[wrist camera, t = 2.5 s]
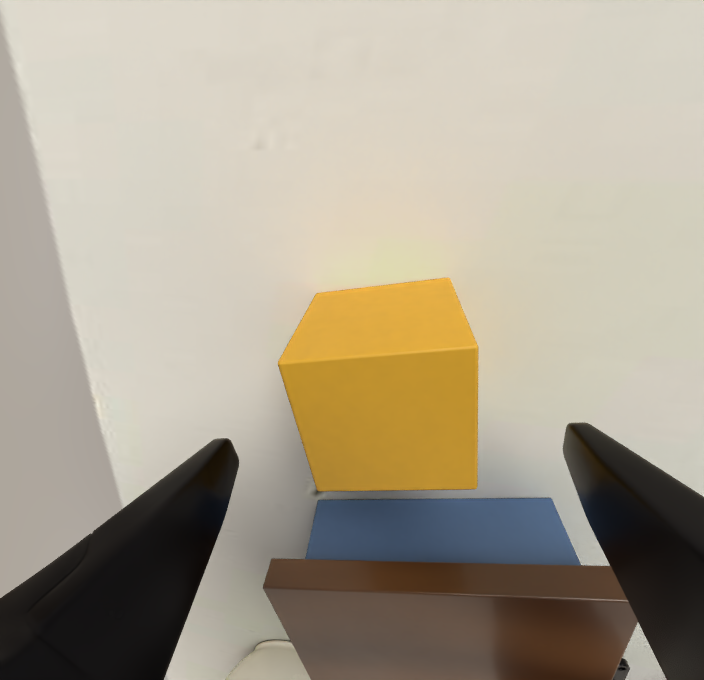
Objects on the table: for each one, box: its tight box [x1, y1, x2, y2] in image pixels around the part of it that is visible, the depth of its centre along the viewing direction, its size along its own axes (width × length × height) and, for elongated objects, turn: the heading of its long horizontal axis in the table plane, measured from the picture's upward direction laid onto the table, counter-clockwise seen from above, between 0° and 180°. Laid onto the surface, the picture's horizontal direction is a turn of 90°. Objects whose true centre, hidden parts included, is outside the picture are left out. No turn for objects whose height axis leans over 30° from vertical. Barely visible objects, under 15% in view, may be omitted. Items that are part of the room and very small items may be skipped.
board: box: [263, 559, 638, 680], centre depth 16 cm, size 12×14×1 cm
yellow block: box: [278, 278, 478, 491], centre depth 12 cm, size 5×5×5 cm
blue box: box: [305, 498, 581, 565], centre depth 18 cm, size 9×12×4 cm
